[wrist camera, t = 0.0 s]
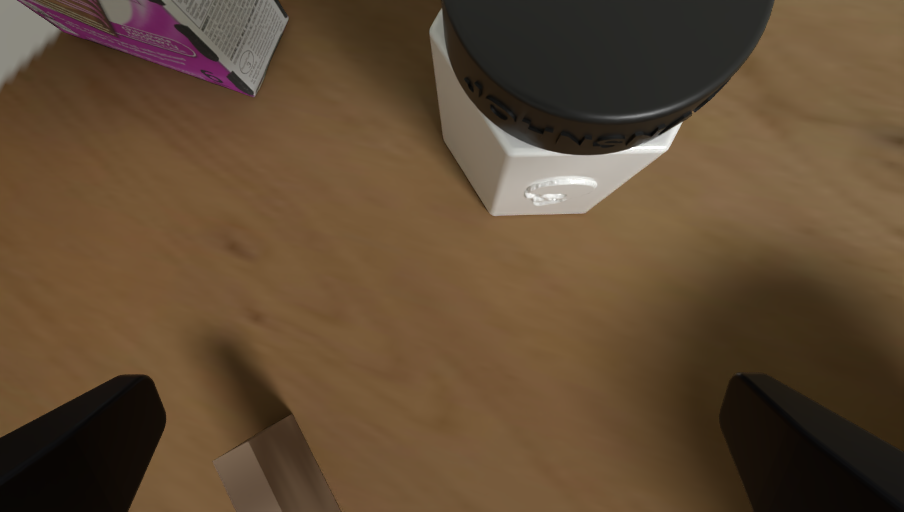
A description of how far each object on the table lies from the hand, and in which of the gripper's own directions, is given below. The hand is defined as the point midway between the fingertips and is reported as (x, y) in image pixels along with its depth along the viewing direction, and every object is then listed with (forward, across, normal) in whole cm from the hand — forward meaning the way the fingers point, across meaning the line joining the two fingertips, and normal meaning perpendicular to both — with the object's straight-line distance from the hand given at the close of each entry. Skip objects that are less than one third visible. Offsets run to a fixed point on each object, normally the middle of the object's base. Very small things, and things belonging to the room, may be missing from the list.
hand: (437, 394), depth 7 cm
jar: (+18, -4, 0) cm, 18 cm away
